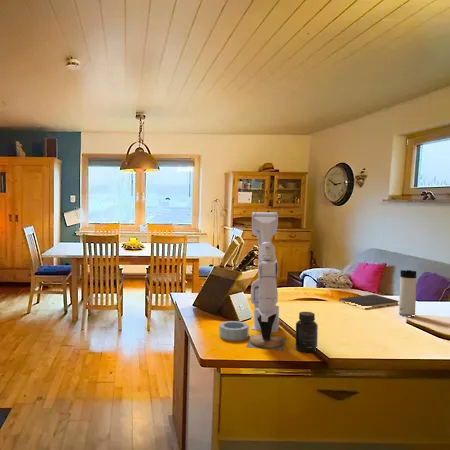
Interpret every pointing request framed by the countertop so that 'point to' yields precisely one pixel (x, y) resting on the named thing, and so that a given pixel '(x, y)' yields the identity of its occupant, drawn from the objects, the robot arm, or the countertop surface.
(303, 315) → the supplement bottle
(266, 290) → the robot arm
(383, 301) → the hardcover book
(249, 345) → the mat
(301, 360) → the countertop surface
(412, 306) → the travel mug
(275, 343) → the lid
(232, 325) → the bowl
